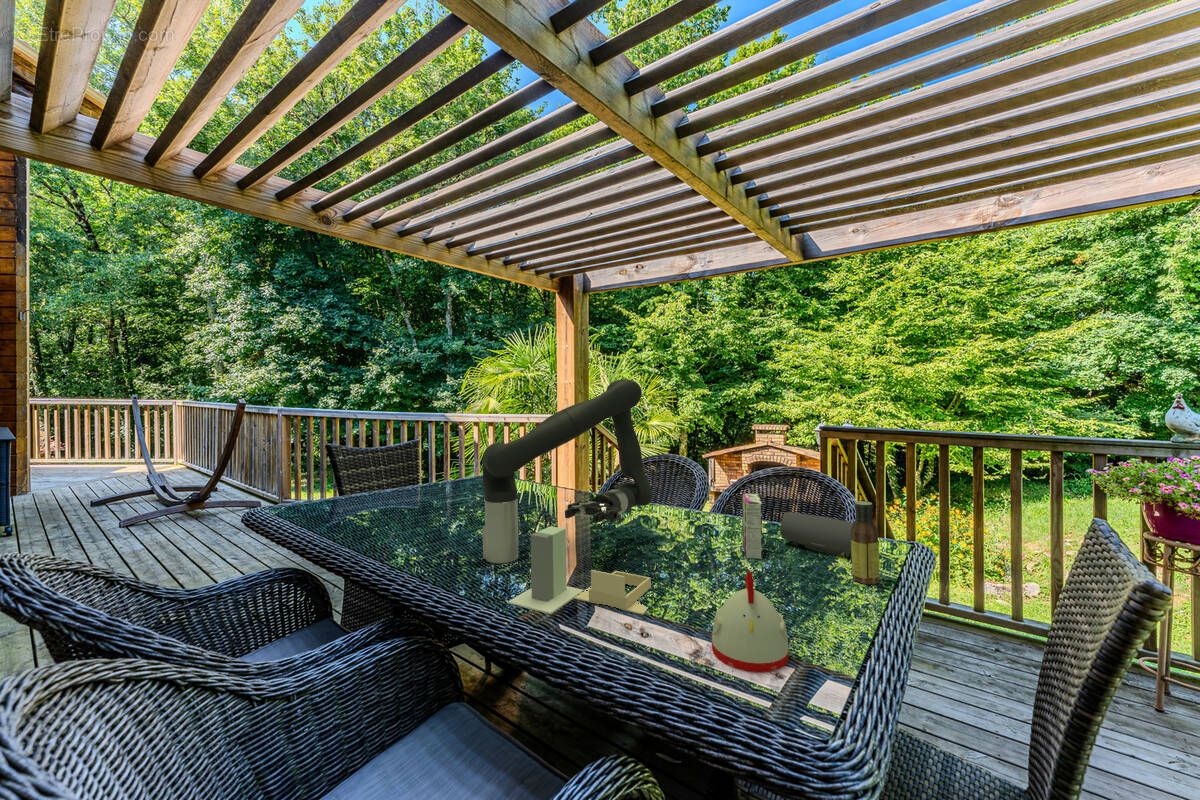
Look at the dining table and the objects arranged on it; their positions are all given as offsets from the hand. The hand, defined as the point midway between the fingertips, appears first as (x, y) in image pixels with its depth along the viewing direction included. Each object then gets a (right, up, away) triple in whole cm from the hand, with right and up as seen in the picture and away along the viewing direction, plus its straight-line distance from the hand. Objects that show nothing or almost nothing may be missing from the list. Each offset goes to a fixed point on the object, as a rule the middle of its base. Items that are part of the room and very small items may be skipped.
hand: (580, 516), depth 136 cm
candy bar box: (+50, -15, +18) cm, 55 cm away
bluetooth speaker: (+71, -15, +20) cm, 75 cm away
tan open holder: (+11, -16, -9) cm, 22 cm away
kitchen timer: (+33, -18, -37) cm, 53 cm away
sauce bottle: (+72, -16, -3) cm, 74 cm away
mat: (-7, -17, -11) cm, 21 cm away
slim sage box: (-7, -16, -10) cm, 20 cm away
